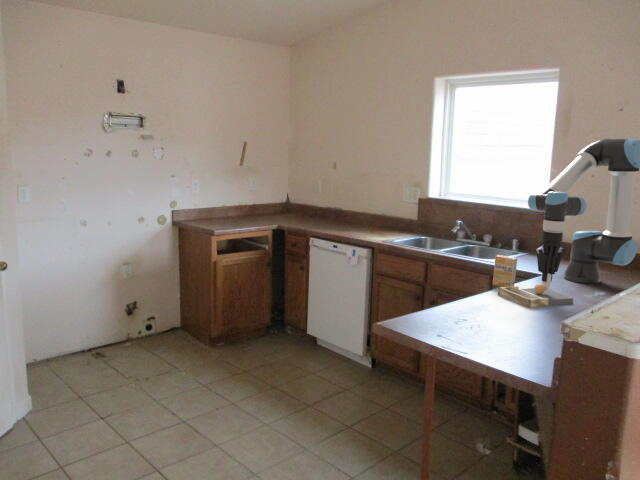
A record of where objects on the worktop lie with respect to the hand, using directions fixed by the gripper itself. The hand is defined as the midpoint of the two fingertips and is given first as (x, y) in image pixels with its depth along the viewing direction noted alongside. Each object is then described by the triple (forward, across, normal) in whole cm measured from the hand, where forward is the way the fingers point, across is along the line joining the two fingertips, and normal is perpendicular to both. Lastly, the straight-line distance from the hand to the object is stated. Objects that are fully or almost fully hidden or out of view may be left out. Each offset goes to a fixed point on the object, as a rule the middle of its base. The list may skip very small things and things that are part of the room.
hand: (545, 289), depth 211 cm
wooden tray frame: (+4, +11, 0) cm, 11 cm away
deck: (+4, 0, 0) cm, 4 cm away
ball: (-1, +1, 0) cm, 2 cm away
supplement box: (+4, +4, -20) cm, 21 cm away
